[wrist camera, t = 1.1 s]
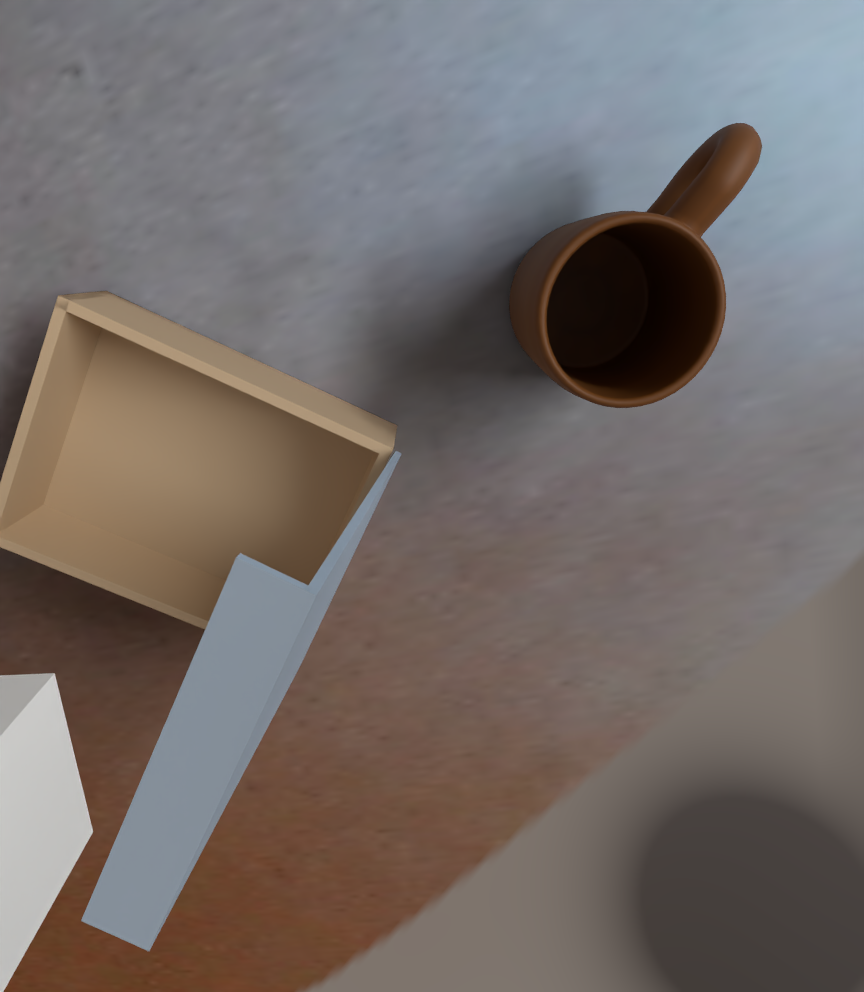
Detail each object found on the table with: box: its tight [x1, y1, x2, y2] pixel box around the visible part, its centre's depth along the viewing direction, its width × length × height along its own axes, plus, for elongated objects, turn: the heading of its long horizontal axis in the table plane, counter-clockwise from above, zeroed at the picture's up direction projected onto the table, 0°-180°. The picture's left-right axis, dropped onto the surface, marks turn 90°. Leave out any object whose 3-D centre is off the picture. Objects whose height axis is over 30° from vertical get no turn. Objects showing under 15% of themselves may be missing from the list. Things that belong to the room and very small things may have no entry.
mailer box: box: [0, 291, 397, 629], centre depth 37 cm, size 16×13×5 cm
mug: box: [509, 123, 762, 408], centre depth 32 cm, size 12×8×9 cm, turn 146°
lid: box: [81, 451, 401, 951], centre depth 27 cm, size 17×13×2 cm
